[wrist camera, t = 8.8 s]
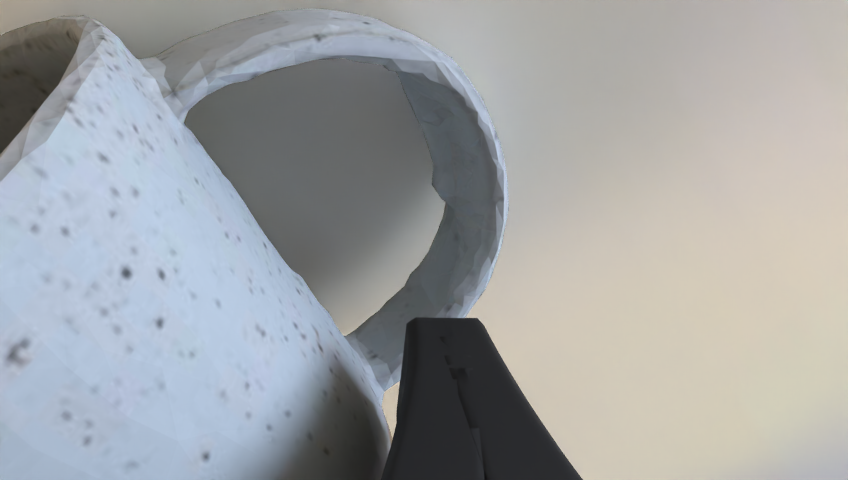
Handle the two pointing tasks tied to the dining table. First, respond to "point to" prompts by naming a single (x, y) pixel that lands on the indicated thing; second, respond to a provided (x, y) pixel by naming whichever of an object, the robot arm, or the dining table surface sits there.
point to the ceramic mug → (202, 261)
